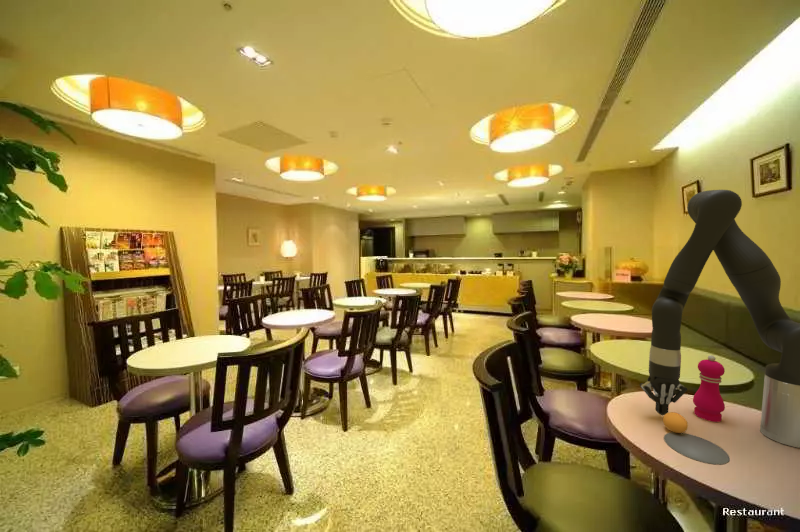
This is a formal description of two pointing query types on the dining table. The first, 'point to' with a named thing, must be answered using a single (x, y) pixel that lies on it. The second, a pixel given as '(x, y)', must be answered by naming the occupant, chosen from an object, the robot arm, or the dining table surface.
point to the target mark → (696, 448)
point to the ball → (675, 422)
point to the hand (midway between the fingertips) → (661, 413)
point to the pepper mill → (709, 391)
